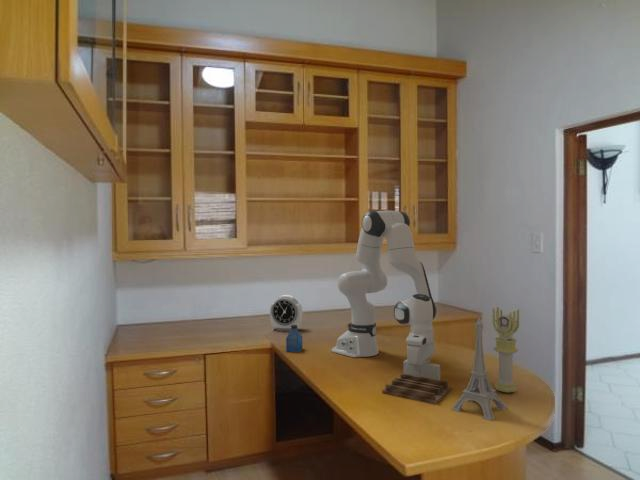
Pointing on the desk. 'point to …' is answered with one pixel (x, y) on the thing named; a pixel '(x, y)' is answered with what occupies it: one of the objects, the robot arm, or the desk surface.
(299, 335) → the perfume bottle
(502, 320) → the trophy
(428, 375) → the gray rectangular block
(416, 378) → the rack
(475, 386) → the eiffel tower
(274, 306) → the alarm clock
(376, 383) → the desk surface
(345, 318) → the desk surface
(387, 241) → the robot arm
